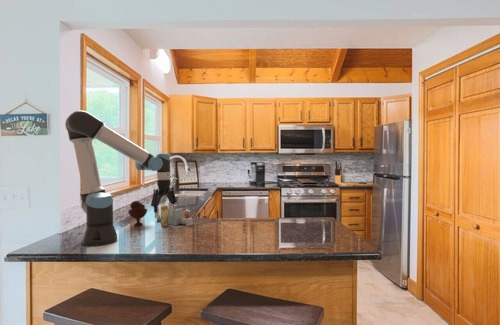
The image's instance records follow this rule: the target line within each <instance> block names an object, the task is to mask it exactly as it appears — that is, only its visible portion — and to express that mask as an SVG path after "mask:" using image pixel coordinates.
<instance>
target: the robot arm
mask: <svg viewBox="0 0 500 325" xmlns="http://www.w3.org/2000/svg"><path fill="white" fill-rule="evenodd" d="M65 129H66V131H67V135H68V139H69V141H70V142H71V143H72V144H73V147H74V152H75V157H76V162H77V166H78V172H79V177H80V183H81V188H82V190H81V191H80V200H81V208H82V211H83V212H84V213H85V214H86V229H85V231H84V235H83V238H82V244H83V245H84V246H87V247H88V246H89V247H95V246H96V247H97V246H105V245H109V244H113V243H116V242H117V241H118V233H117V231H116V228H115V226H114V207H113V206H114V205H113V204H114V203H113V202H114V199H113V195H112V194H111V193H109V192H108V193H107V192H106V189H105V187H104V186H102V184H101V179H100V175H99V174H100V172H99V170H98V163H97V159H96V154H95V147H94V144H93V141H94V140H98V141H99V142H100V143H101V142H102V143H103V144H105V145H106V146H108V147H109V148H111V149H113V150H115V151H117V152H118V153H120V154H122V155H124V156H125V157H127V158H129V159H131V160H132V161H134V165H135V169H136V170H137V171H151V172H152V171H153V172H156V179H157V182H156V184H157V188H153V195H152V198H151V202H150V203H151V204H150V207H153V213H154V218H155V219H157V218H159V215H160V206H159V205H160V203H161V200H162V198H163V197H164V196H166V198H167V200H168V201H169V205H168V208H169V214H170V215H173V209H174V207H175V204H176V203H177V201H178V200H177V198H176V193H175V191H174V190H175V187H173V186H171V155H170V153H165V152H163V153H162V152H161V153H160V152H158V153H157V154H156V156H155V155H154V154H152V153H150V152H148V151H147V150H146V149H144V148H142V147H141V146H139V145H137V144H135V143H134V142H132V141H131V140H129V139H127V138H126V137H124V136H122V135H121V134H119V133H117V132H115V131H114V130H113V129H111V128H109V127H108V126H106V123H105V122H103V121H102V120H100V119H99V118H98V117H95V116H94V115H93V114H91V113H90V112H88V111H85V110H76V111H73V112H71V113H70V114H69V115H68V117H67V118H66V120H65Z"/></svg>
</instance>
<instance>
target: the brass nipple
mask: <svg viewBox="0 0 500 325" xmlns="http://www.w3.org/2000/svg"><path fill="white" fill-rule="evenodd" d="M168 208H169V205H161V206H160V215H161V221H160V227H161V228H166V227H169V224H168Z"/></svg>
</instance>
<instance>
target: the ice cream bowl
mask: <svg viewBox="0 0 500 325" xmlns="http://www.w3.org/2000/svg"><path fill="white" fill-rule="evenodd" d="M129 207H130V209H128V210H127V211H128V215H129V216H130V217H131V218H133V219H134V220H135V219H136V223H134V224H133V227H143V226H144V223H141V222H140V219H143V218H144V217H145V216H146V215H147V213H148V208H146V207H145V205H144V204H143V203H141V202H140V201H139V200H134V201H132V202H130V205H129Z"/></svg>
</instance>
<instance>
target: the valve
mask: <svg viewBox="0 0 500 325" xmlns="http://www.w3.org/2000/svg"><path fill="white" fill-rule="evenodd" d="M190 213H191V212H190V211H189V210H187V209H186V210H184V208H183V207H182V208H176V207H175V206H174V209H173V215H170V214H169V207H168V225H171V226H178V225H185V227H188V226H189V227H190V226H192V225H193V220H194V219H193V217H190V216H191V215H190ZM156 222H157V223H159V222H160V223H161V214H159V218H156Z"/></svg>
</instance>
